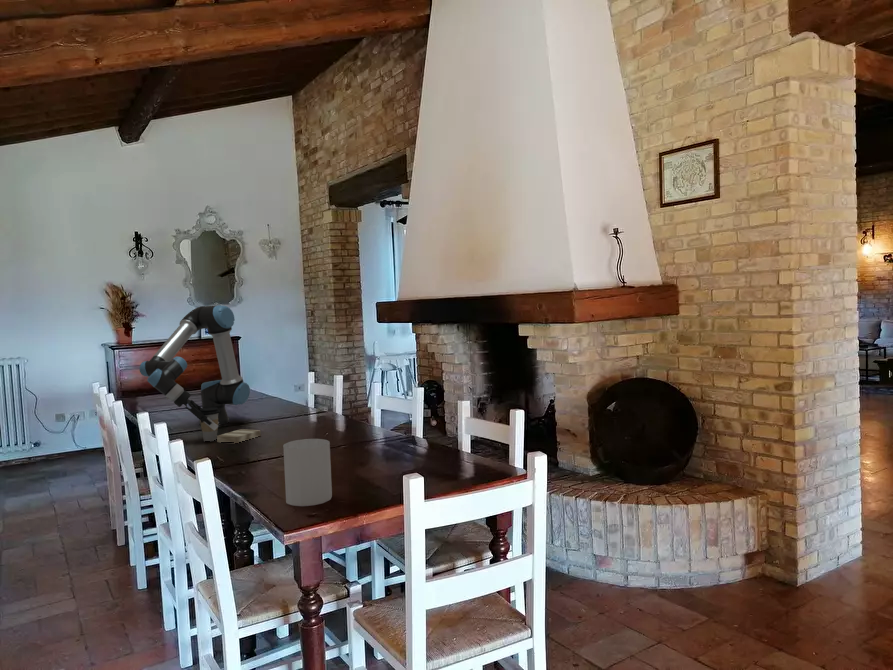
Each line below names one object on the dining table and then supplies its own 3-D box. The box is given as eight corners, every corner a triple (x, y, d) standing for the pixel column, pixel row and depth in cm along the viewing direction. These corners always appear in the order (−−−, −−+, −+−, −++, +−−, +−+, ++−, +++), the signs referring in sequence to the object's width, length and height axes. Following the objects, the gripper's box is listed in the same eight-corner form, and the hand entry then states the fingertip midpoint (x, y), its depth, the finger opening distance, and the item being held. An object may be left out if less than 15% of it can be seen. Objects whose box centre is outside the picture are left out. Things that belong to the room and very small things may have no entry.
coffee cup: (197, 439, 305) (195, 408, 304) (217, 436, 311) (215, 405, 309) (203, 443, 298) (201, 411, 296) (223, 440, 303) (222, 408, 302)
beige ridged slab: (241, 435, 314) (240, 429, 314) (260, 436, 309) (260, 430, 309) (217, 442, 299) (216, 435, 299) (237, 443, 295) (237, 437, 294)
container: (296, 509, 196) (293, 451, 195) (278, 498, 208) (275, 443, 207) (339, 499, 204) (337, 443, 204) (320, 490, 216) (317, 436, 215)
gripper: (175, 398, 308) (212, 428, 314) (170, 405, 287) (210, 437, 293) (186, 386, 310) (223, 416, 316) (182, 392, 289) (222, 424, 295)
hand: (216, 426), depth 304 cm, fingers closed on coffee cup, 9 cm apart
